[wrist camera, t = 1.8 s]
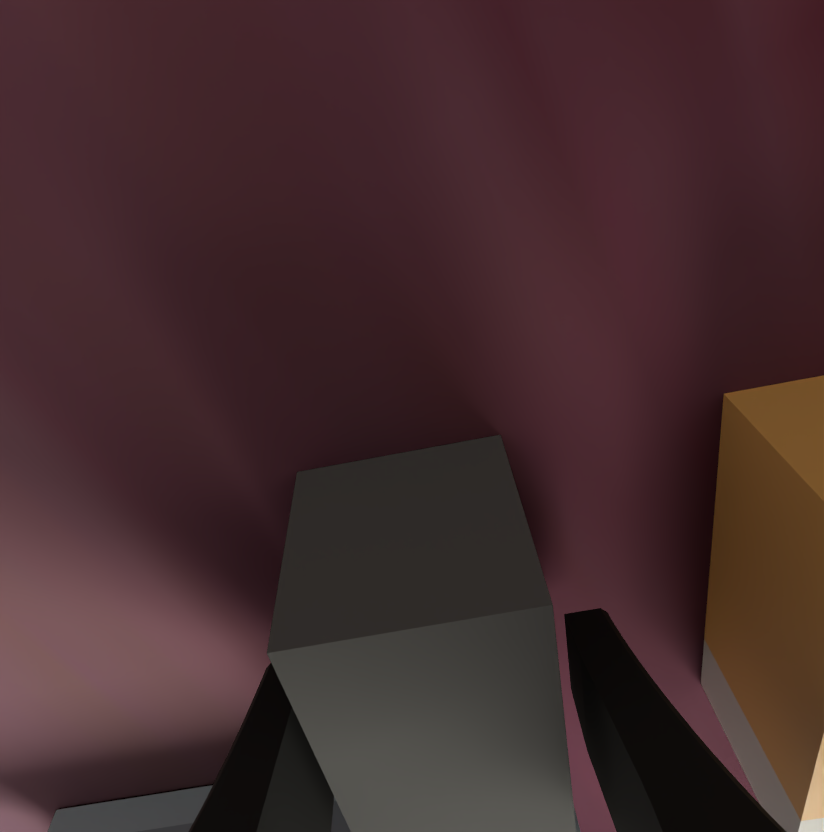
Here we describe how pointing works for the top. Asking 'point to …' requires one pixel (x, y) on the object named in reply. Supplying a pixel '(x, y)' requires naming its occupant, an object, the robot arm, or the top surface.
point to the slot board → (153, 814)
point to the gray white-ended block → (424, 644)
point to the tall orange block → (771, 596)
